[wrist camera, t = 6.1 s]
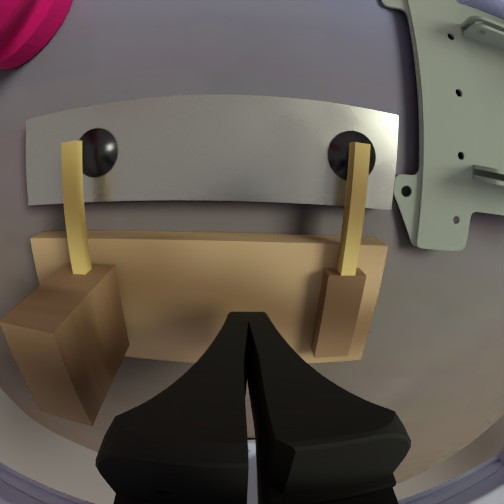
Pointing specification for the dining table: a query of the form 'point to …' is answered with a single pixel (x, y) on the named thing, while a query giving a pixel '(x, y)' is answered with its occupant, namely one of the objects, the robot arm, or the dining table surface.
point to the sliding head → (70, 319)
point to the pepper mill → (28, 28)
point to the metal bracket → (454, 121)
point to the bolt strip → (213, 150)
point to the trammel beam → (241, 281)
